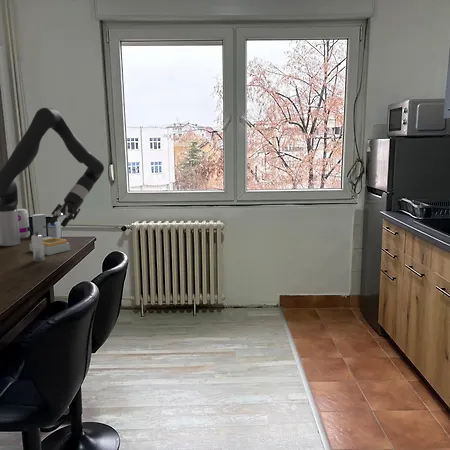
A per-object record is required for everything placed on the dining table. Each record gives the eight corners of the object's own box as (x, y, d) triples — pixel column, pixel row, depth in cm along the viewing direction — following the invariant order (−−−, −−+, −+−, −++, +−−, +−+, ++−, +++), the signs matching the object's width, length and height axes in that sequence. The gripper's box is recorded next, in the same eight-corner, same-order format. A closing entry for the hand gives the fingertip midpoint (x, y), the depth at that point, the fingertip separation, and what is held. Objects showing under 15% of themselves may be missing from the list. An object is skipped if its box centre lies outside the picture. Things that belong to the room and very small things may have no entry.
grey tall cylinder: (31, 260, 180) (28, 232, 178) (41, 258, 184) (38, 230, 181) (37, 262, 178) (34, 233, 175) (47, 260, 181) (44, 231, 179)
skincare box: (35, 237, 226) (32, 215, 224) (33, 236, 229) (31, 214, 227) (47, 236, 229) (45, 214, 227) (45, 235, 233) (43, 213, 231)
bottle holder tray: (30, 250, 198) (29, 240, 197) (51, 246, 207) (50, 236, 206) (48, 255, 189) (47, 244, 188) (70, 250, 198) (69, 239, 197)
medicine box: (53, 237, 227) (52, 221, 226) (61, 237, 227) (60, 221, 226) (48, 240, 219) (47, 224, 218) (57, 240, 220) (55, 223, 218)
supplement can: (22, 238, 224) (19, 211, 221) (9, 238, 226) (6, 210, 224) (33, 235, 231) (30, 208, 229) (21, 234, 234) (18, 208, 231)
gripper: (61, 190, 195) (41, 218, 187) (81, 192, 187) (60, 221, 179) (72, 200, 200) (52, 228, 193) (91, 202, 192) (72, 231, 185)
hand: (56, 225), depth 186 cm, fingers open, 8 cm apart
